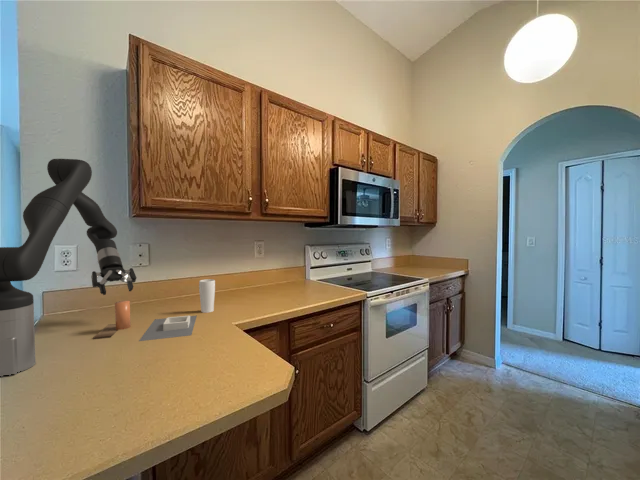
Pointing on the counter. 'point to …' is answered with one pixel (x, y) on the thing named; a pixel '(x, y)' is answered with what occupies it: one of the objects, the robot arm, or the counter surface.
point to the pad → (106, 332)
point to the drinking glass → (207, 295)
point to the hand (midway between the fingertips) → (118, 291)
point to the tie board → (170, 328)
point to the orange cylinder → (122, 315)
